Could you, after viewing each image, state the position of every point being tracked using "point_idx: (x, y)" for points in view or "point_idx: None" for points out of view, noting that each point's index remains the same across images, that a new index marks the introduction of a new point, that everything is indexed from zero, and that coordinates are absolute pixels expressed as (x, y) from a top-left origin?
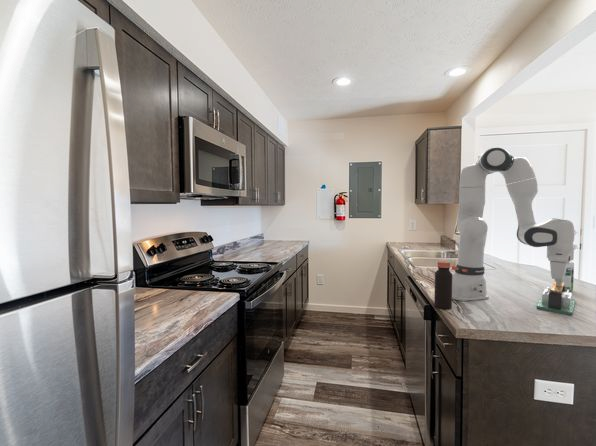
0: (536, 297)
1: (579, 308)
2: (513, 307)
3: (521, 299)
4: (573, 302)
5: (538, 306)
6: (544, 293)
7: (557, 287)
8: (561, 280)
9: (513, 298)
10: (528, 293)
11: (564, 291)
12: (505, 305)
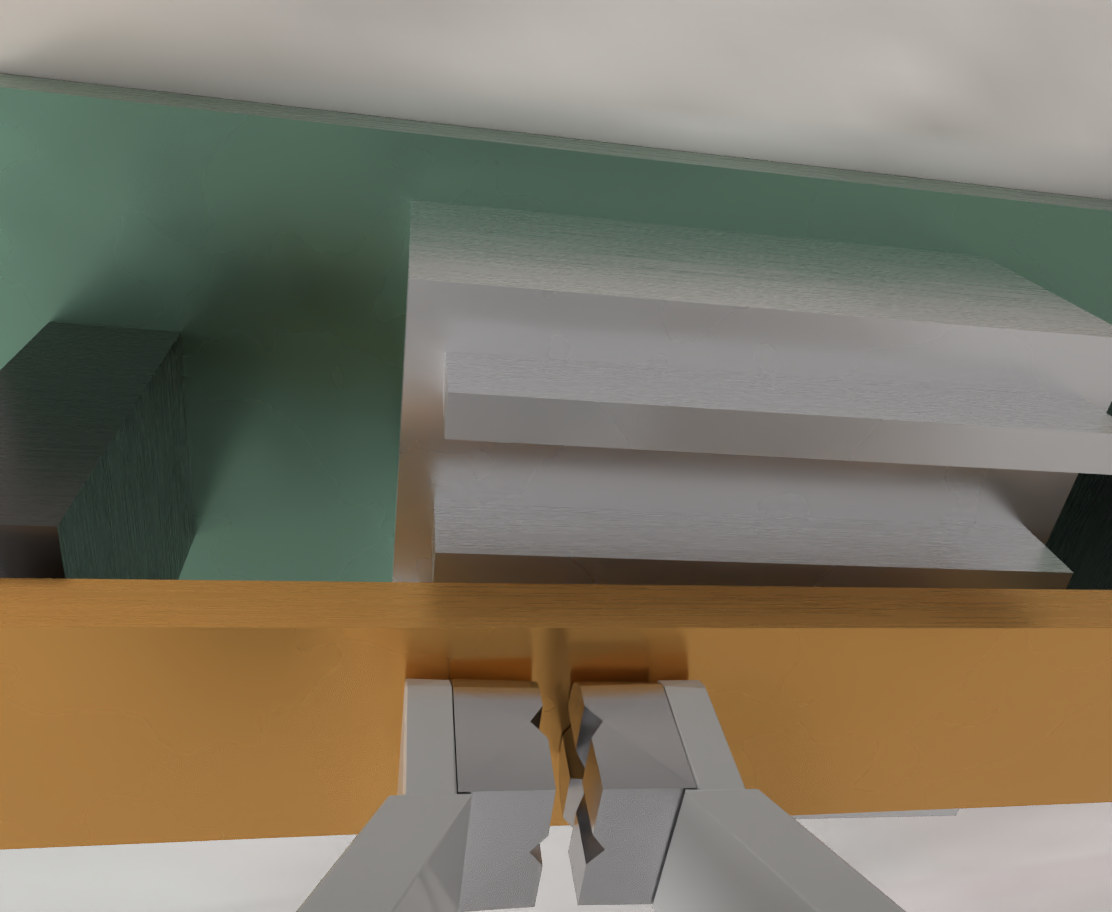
0: None
1: (656, 35)
2: (1109, 840)
3: None
4: (435, 155)
5: None
6: None
7: (835, 724)
8: (870, 889)
9: (635, 906)
10: None
11: (124, 426)
12: (1055, 904)
